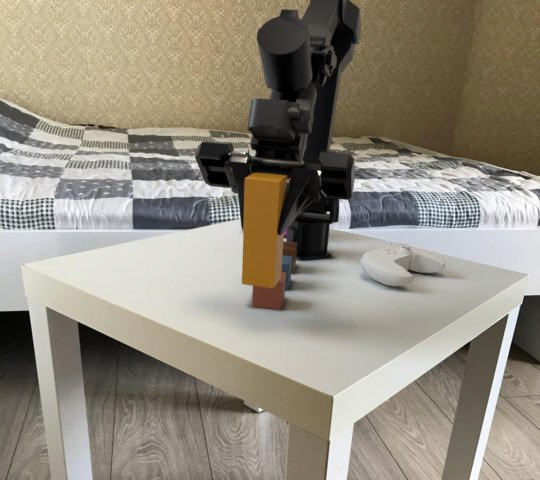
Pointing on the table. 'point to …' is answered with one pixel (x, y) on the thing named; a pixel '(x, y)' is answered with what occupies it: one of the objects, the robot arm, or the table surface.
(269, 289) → the cube
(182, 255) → the table surface
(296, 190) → the robot arm
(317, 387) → the table surface
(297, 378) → the table surface
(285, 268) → the cube
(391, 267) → the game controller
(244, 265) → the tall block
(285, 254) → the cube
